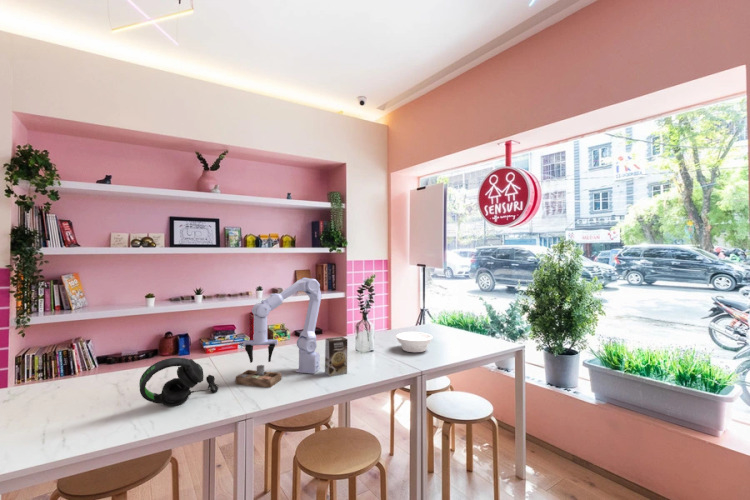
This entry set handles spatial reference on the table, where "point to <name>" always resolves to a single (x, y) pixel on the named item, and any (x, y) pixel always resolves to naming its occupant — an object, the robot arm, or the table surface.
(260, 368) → the peg
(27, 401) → the table surface
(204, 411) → the table surface
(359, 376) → the table surface
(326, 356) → the coffee box
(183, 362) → the headset
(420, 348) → the bowl
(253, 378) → the socket block
